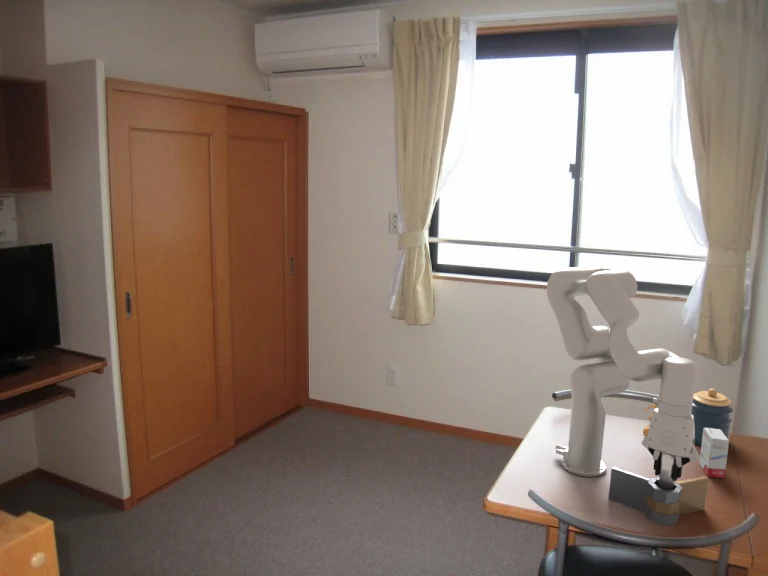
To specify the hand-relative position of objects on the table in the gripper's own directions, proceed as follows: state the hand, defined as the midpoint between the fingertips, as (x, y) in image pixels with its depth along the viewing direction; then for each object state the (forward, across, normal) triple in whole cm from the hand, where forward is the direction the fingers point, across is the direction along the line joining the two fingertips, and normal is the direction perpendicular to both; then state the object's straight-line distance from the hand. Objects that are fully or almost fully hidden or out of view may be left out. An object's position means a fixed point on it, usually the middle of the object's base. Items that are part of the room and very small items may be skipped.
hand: (666, 475), depth 159 cm
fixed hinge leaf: (+12, -5, 0) cm, 13 cm away
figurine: (+12, -18, +47) cm, 52 cm away
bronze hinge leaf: (+12, +2, +4) cm, 13 cm away
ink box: (+12, +3, +36) cm, 38 cm away
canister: (+12, -4, +58) cm, 59 cm away
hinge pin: (+4, 0, 0) cm, 4 cm away
